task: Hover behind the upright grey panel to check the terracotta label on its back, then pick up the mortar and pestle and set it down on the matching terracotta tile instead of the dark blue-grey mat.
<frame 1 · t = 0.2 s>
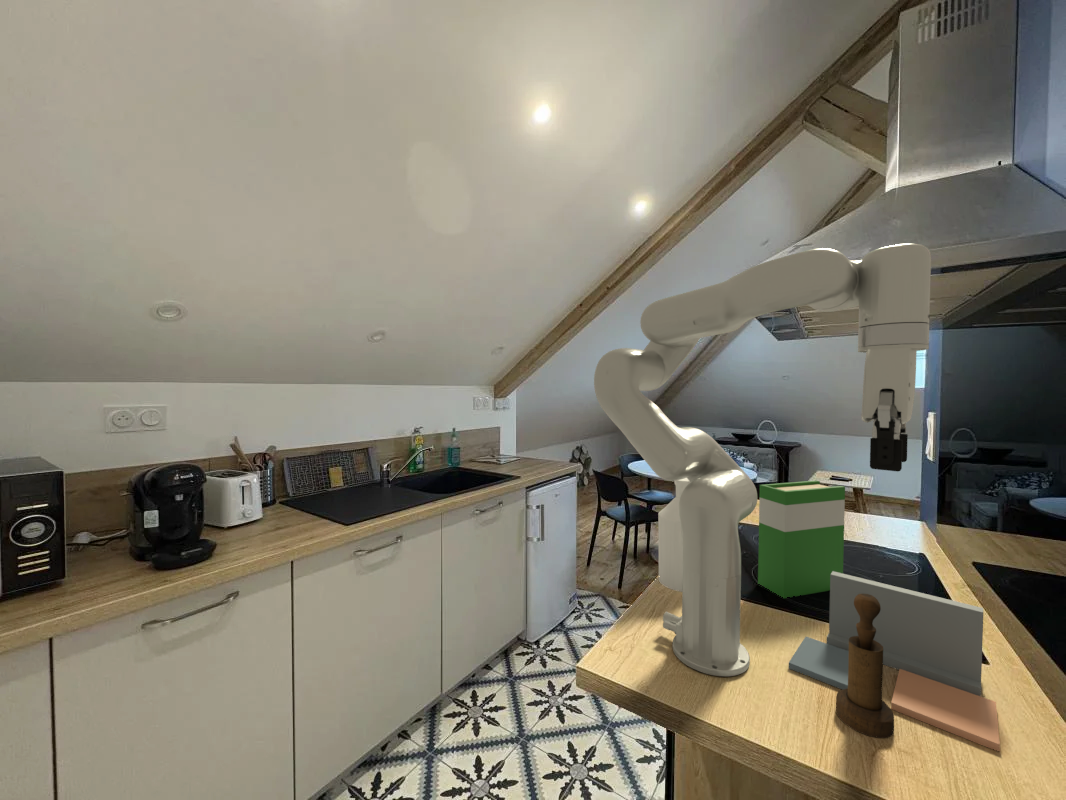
hand: (889, 465, 61), 37 cm above the countertop, tool pointing down, fingers open, 9 cm apart
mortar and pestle: (863, 721, 63), on the countertop
tile terracotta: (943, 708, 66), on the countertop
mat bluegrey: (834, 668, 75), on the countertop
upright grey panel: (898, 661, 77), on the countertop
hardback book: (799, 587, 106), on the countertop
bottle: (682, 582, 108), on the countertop
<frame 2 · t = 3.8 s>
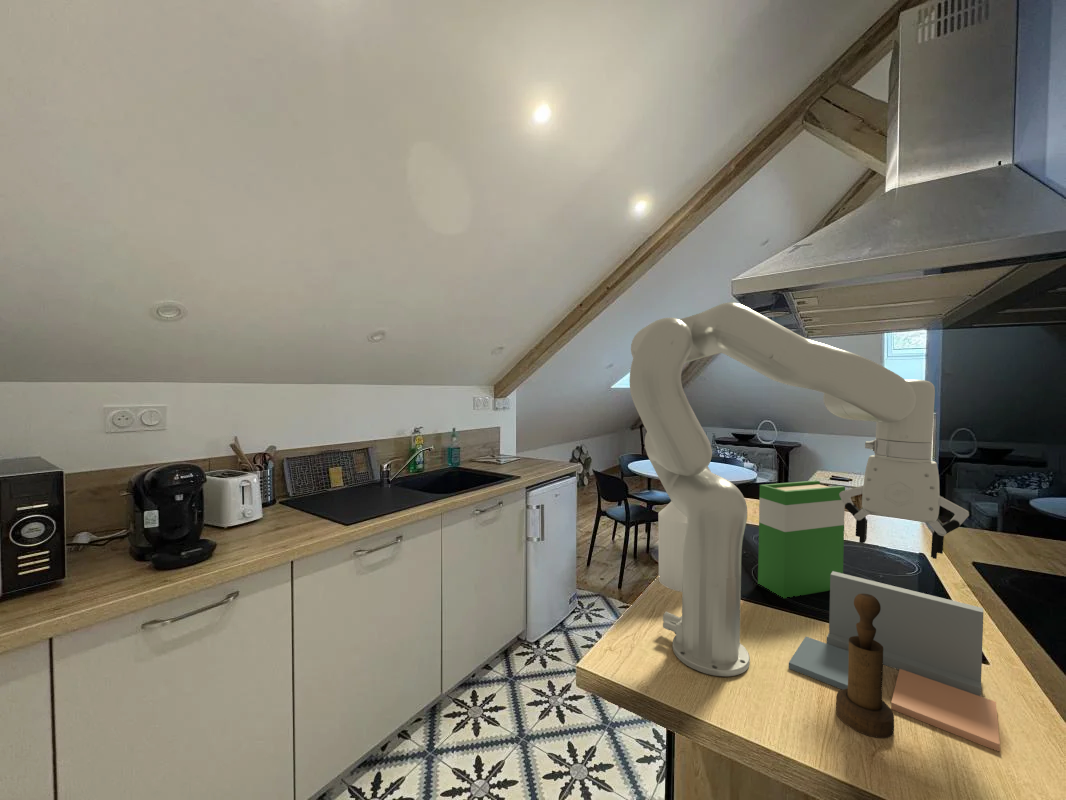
hand: (896, 548, 78), 19 cm above the countertop, tool pointing down, fingers open, 9 cm apart
nothing on the countertop moved.
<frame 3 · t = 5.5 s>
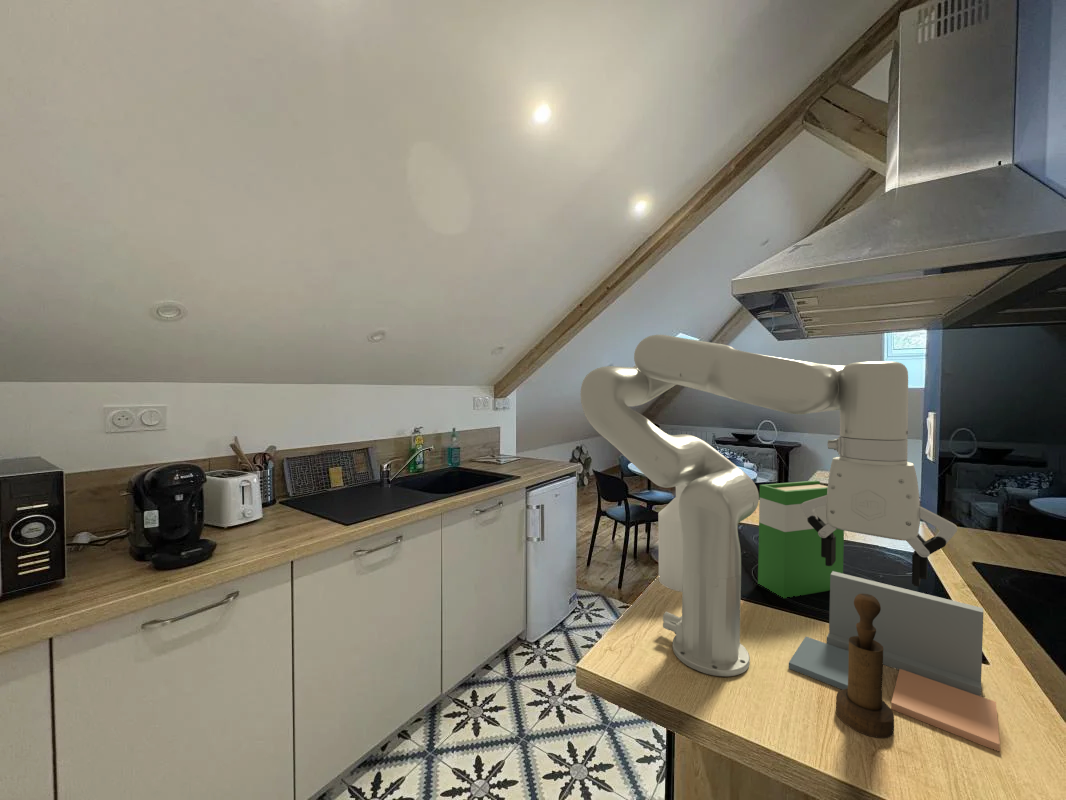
hand: (871, 572, 62), 21 cm above the countertop, tool pointing down, fingers open, 9 cm apart
nothing on the countertop moved.
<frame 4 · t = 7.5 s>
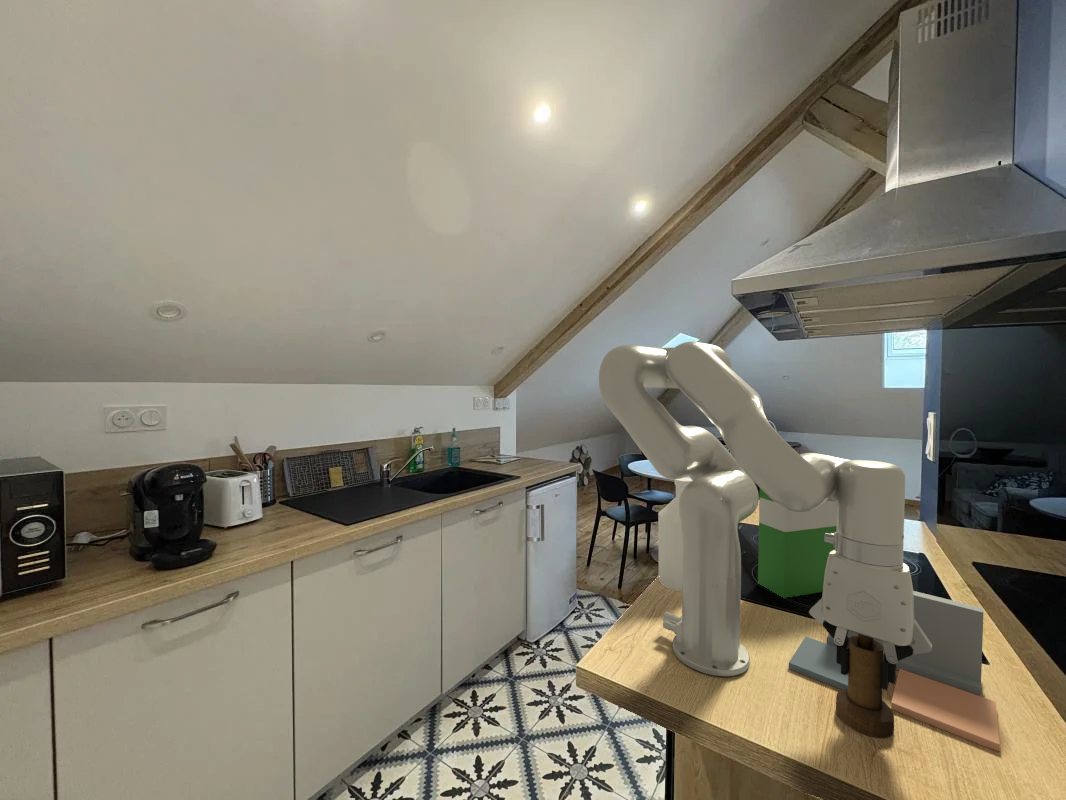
hand: (865, 676, 63), 6 cm above the countertop, tool pointing down, fingers closed on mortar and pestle, 3 cm apart
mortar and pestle: (863, 721, 63), on the countertop, touching gripper
everything else where it was.
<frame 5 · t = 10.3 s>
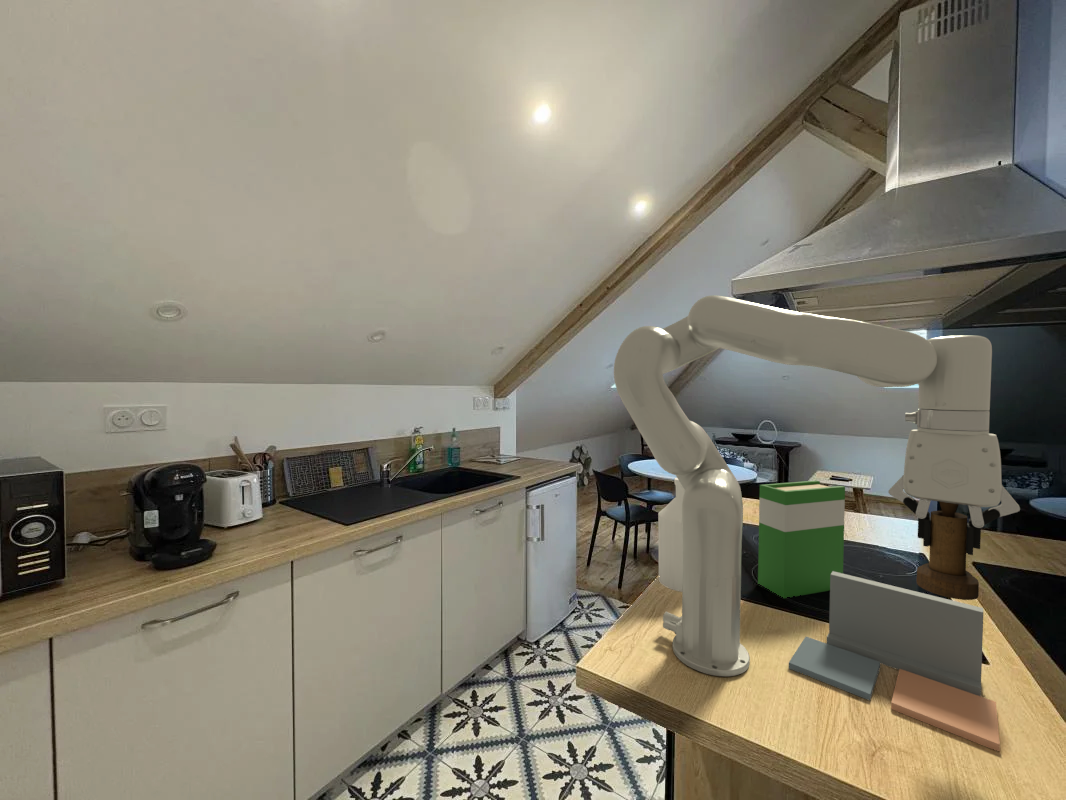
hand: (947, 546, 65), 24 cm above the countertop, tool pointing down, fingers closed on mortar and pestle, 3 cm apart
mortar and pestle: (946, 591, 65), point 18 cm above the countertop, touching gripper
everything else where it was.
when the fingers open (9 cm above the countertop, at t = 13.3 s): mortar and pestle drops 2 cm, resting on tile terracotta.
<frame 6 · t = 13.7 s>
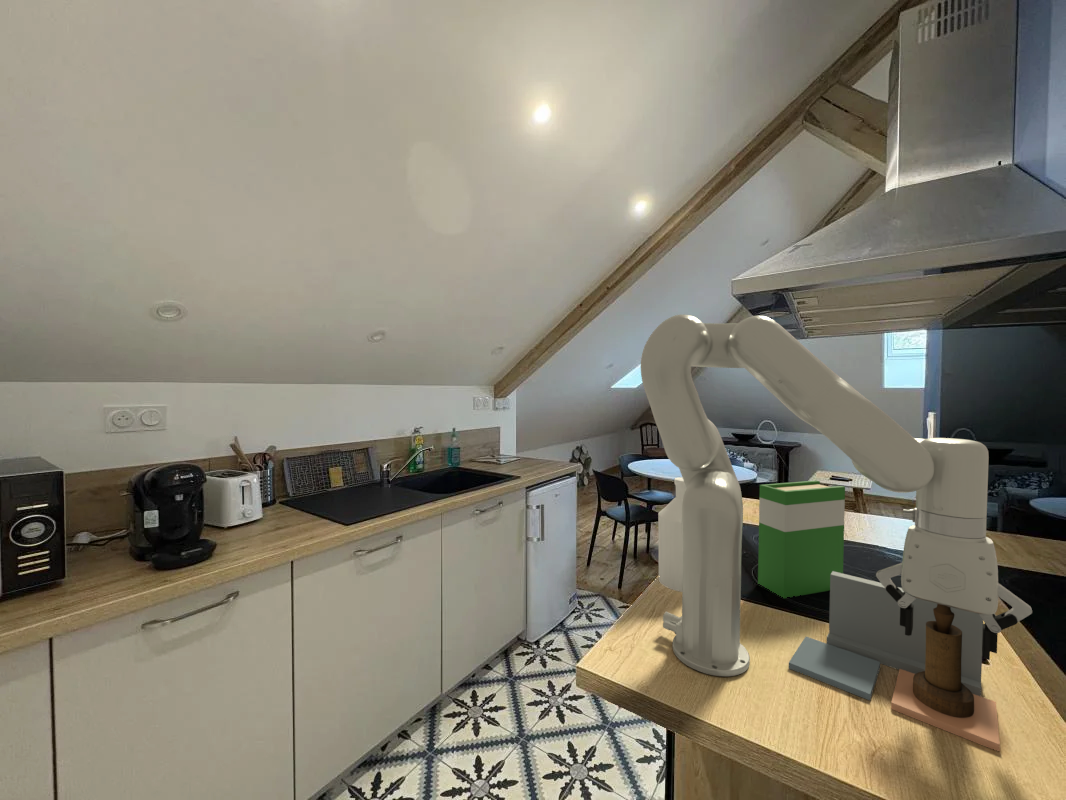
hand: (945, 642, 65), 10 cm above the countertop, tool pointing down, fingers open, 7 cm apart
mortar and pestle: (942, 702, 66), point 1 cm above the countertop, touching tile terracotta
everything else where it was.
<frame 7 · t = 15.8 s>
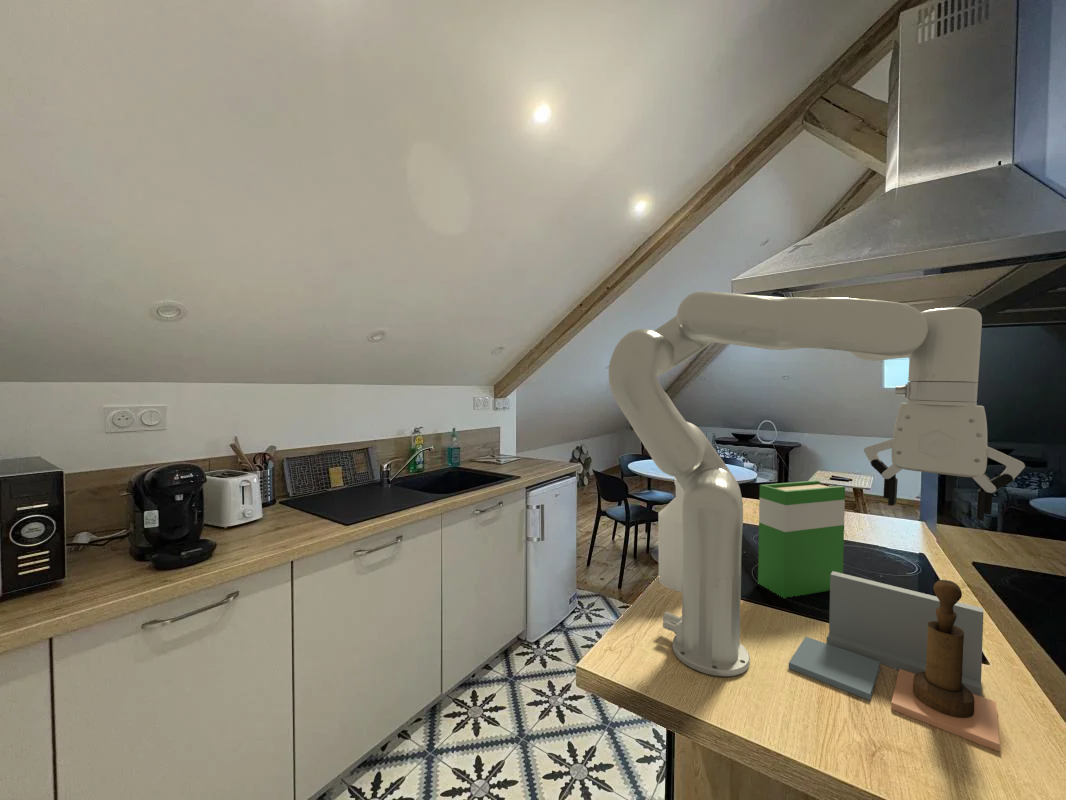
hand: (933, 510, 66), 29 cm above the countertop, tool pointing down, fingers open, 9 cm apart
nothing on the countertop moved.
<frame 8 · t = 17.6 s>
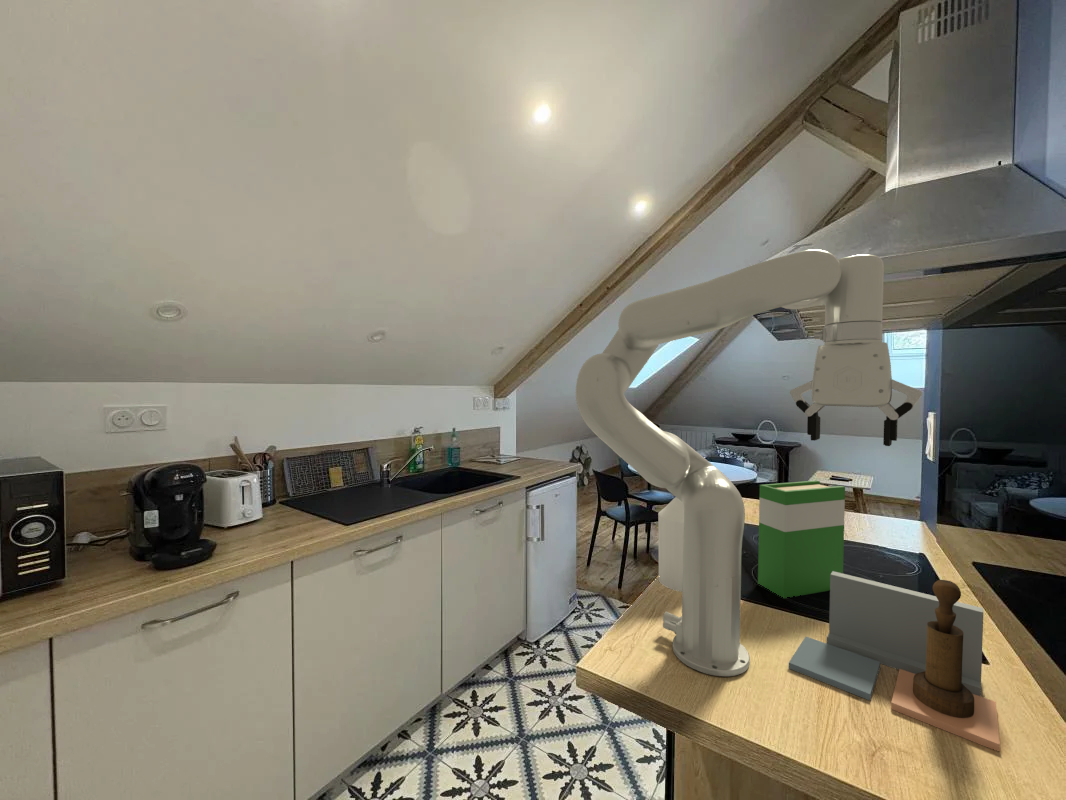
hand: (849, 442, 72), 38 cm above the countertop, tool pointing down, fingers open, 9 cm apart
nothing on the countertop moved.
at the end: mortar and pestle inside the target area on the tile terracotta (0.1 cm from its centre), point 0.8 cm above the tile terracotta's base; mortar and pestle tilted 0°; the gripper is holding nothing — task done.
